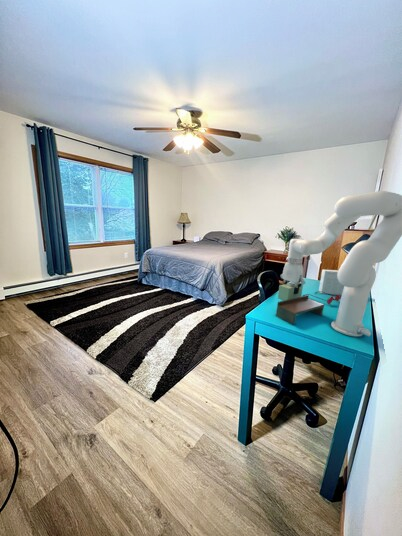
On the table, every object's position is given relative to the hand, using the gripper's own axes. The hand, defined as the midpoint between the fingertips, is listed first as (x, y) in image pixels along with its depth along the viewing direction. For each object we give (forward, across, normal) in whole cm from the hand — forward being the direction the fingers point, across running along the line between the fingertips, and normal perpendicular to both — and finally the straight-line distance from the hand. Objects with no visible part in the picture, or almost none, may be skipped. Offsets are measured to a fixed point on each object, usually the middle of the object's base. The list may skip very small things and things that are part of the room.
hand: (290, 291), depth 124 cm
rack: (+8, +12, -7) cm, 16 cm away
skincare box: (+8, +1, +47) cm, 48 cm away
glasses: (+8, +3, +27) cm, 28 cm away
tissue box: (+4, 0, 0) cm, 4 cm away
